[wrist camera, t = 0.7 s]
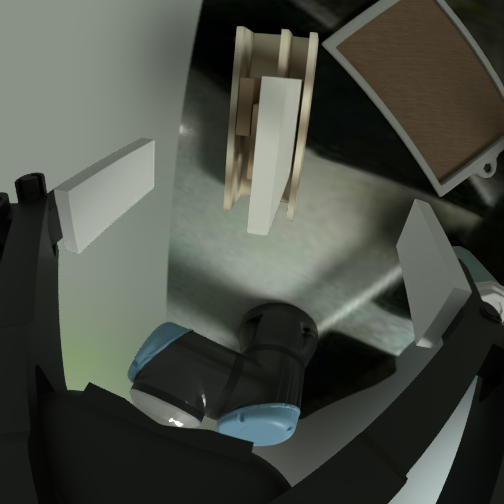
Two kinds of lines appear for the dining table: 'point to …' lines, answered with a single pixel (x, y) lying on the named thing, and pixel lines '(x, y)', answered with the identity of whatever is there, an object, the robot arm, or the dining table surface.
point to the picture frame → (427, 85)
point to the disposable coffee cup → (483, 280)
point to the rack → (255, 66)
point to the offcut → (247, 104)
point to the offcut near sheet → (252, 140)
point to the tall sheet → (273, 148)
